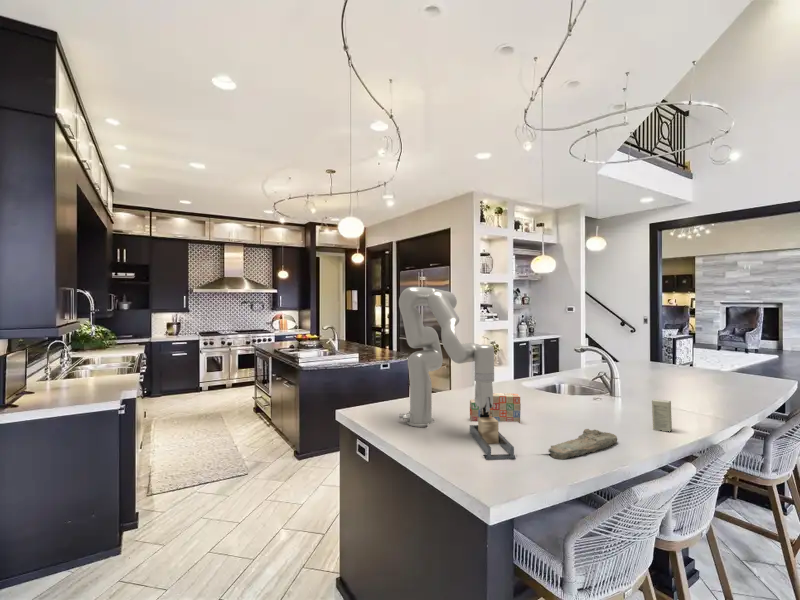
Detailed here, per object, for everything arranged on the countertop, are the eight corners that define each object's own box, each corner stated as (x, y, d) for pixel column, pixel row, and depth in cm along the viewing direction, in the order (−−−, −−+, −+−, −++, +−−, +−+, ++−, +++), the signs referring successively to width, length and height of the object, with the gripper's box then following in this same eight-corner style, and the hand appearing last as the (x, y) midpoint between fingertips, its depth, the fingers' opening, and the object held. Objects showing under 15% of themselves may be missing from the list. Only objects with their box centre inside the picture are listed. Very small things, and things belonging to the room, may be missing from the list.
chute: (486, 459, 137) (486, 447, 138) (468, 435, 163) (468, 425, 163) (515, 459, 138) (515, 447, 138) (493, 434, 164) (493, 424, 164)
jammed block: (482, 443, 150) (482, 421, 150) (478, 438, 156) (478, 417, 156) (498, 443, 150) (498, 421, 150) (493, 438, 156) (493, 417, 156)
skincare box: (672, 430, 170) (671, 400, 170) (670, 432, 167) (669, 402, 167) (654, 427, 174) (654, 398, 175) (651, 429, 171) (651, 400, 171)
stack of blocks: (471, 423, 180) (471, 395, 180) (469, 419, 186) (469, 392, 187) (520, 424, 179) (520, 396, 179) (517, 420, 185) (517, 393, 185)
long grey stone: (540, 457, 144) (565, 468, 135) (540, 443, 143) (565, 453, 135) (599, 435, 162) (624, 444, 154) (599, 422, 162) (624, 430, 153)
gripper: (470, 374, 166) (470, 419, 166) (479, 380, 151) (480, 430, 151) (488, 373, 167) (488, 419, 166) (499, 380, 152) (500, 430, 151)
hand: (484, 424), depth 159 cm, fingers closed
